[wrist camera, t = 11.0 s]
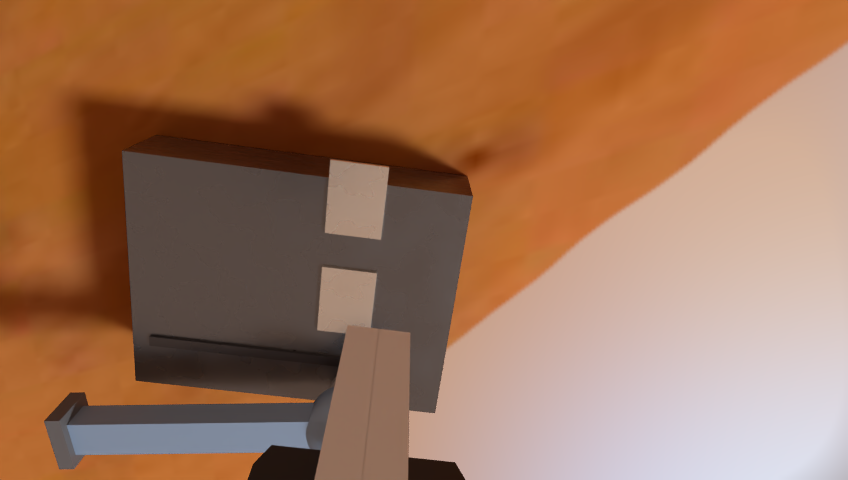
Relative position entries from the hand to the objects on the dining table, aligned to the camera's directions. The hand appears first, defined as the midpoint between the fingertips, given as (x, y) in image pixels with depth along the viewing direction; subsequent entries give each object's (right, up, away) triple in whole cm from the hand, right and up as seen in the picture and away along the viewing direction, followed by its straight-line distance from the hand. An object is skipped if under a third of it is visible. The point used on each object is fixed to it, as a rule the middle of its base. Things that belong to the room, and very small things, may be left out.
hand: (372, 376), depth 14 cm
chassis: (-6, +2, +22) cm, 23 cm away
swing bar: (-10, -7, +19) cm, 22 cm away
